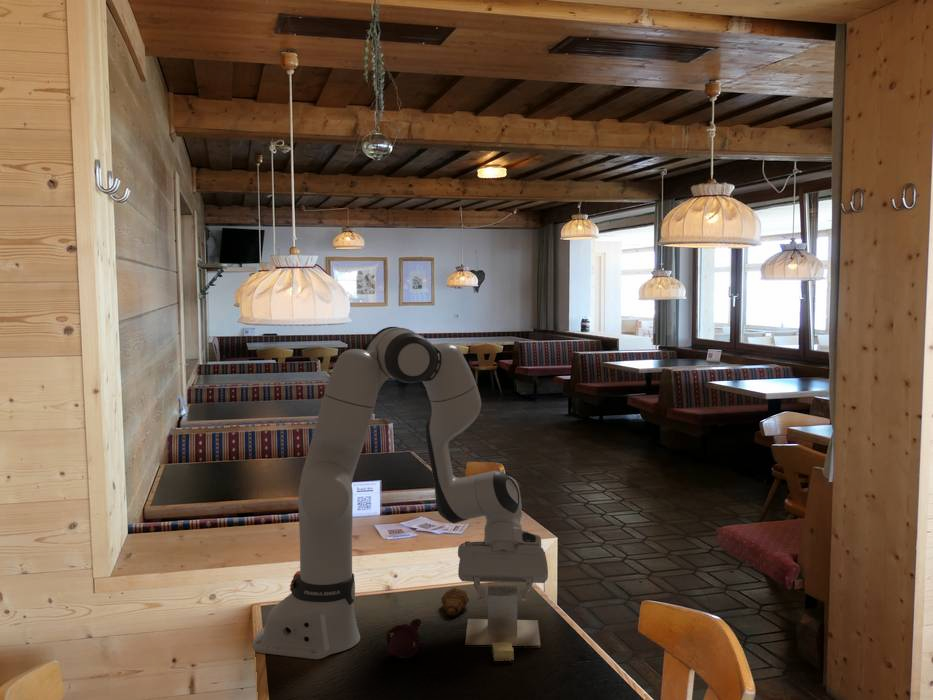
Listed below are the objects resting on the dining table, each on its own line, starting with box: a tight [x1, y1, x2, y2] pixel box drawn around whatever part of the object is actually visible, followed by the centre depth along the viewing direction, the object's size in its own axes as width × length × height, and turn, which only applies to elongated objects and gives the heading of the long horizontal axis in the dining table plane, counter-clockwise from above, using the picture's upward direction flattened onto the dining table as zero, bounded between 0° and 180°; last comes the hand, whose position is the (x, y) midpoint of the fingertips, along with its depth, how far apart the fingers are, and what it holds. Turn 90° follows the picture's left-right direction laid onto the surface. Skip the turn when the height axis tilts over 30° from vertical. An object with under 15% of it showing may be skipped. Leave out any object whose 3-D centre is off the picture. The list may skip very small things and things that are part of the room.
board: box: [464, 618, 541, 648], centre depth 175 cm, size 16×13×1 cm
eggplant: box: [385, 618, 422, 659], centre depth 164 cm, size 7×7×15 cm
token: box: [491, 642, 515, 662], centre depth 164 cm, size 4×4×2 cm
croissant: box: [440, 587, 470, 618], centre depth 190 cm, size 14×7×5 cm, turn 173°
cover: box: [487, 584, 518, 637], centre depth 176 cm, size 6×6×9 cm
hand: (502, 599), depth 175 cm, fingers open, 8 cm apart
